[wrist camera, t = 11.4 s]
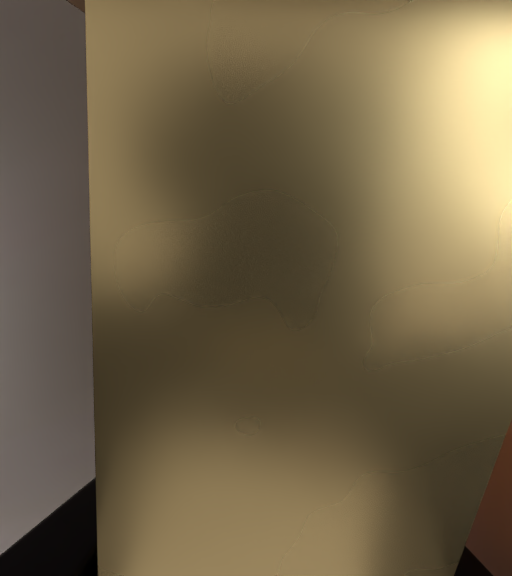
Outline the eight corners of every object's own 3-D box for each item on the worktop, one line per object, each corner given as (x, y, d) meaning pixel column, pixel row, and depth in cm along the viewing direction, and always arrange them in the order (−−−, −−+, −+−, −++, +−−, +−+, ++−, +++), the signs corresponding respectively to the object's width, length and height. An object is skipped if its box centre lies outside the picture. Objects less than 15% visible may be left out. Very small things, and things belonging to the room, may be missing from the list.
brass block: (209, -189, 6) (64, -925, 2) (497, -159, 6) (980, -851, 2) (172, 488, 9) (101, 714, 6) (343, 510, 9) (388, 753, 6)
